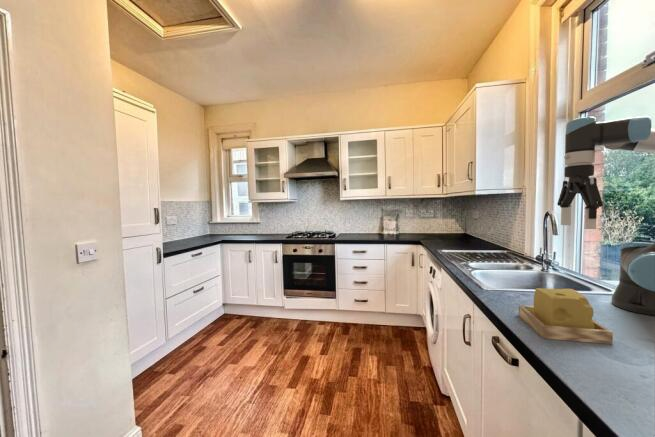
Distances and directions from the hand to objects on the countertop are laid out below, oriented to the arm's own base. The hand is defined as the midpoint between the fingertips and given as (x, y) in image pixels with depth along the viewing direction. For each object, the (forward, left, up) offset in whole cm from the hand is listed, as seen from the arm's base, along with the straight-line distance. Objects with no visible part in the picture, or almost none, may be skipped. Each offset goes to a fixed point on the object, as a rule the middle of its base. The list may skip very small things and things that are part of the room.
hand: (577, 227), depth 96 cm
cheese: (+13, +19, -28) cm, 36 cm away
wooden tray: (+13, +18, -29) cm, 36 cm away
